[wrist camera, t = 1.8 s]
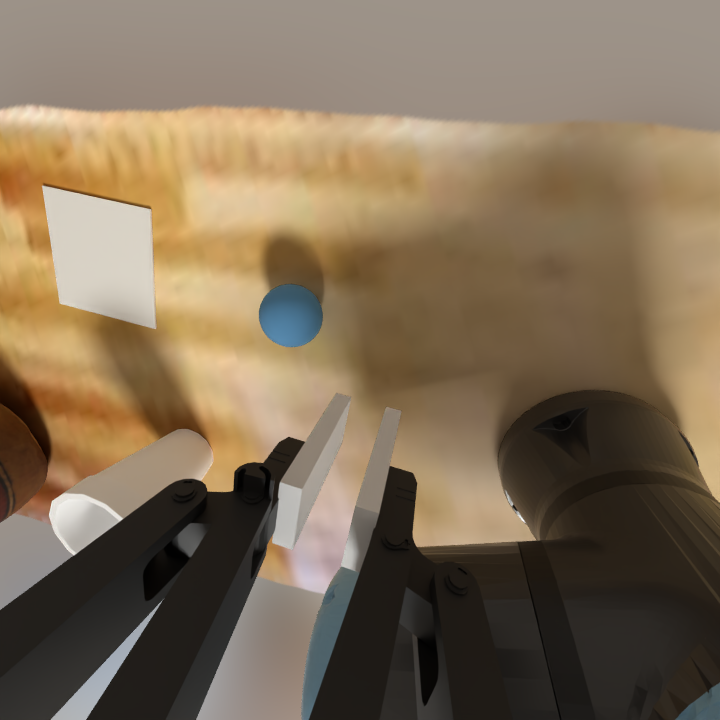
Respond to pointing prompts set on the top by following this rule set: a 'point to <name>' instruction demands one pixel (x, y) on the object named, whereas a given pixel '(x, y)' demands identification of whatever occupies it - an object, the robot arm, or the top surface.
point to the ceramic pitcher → (18, 464)
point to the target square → (102, 255)
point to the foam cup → (127, 487)
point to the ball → (290, 315)
